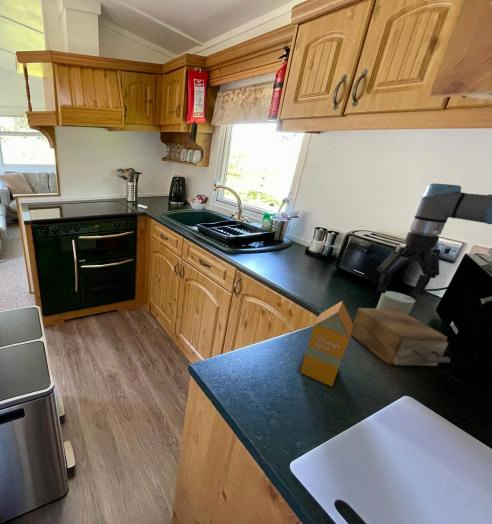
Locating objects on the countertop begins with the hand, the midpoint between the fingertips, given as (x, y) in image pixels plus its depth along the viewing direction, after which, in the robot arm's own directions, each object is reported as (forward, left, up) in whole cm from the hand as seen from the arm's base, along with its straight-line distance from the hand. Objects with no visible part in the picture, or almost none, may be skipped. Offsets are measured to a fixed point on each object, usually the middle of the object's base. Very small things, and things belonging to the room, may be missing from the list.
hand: (399, 292), depth 100 cm
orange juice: (-25, +42, -13) cm, 51 cm away
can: (0, 0, -13) cm, 13 cm away
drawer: (-18, +12, -12) cm, 25 cm away
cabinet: (-14, +12, -13) cm, 23 cm away
